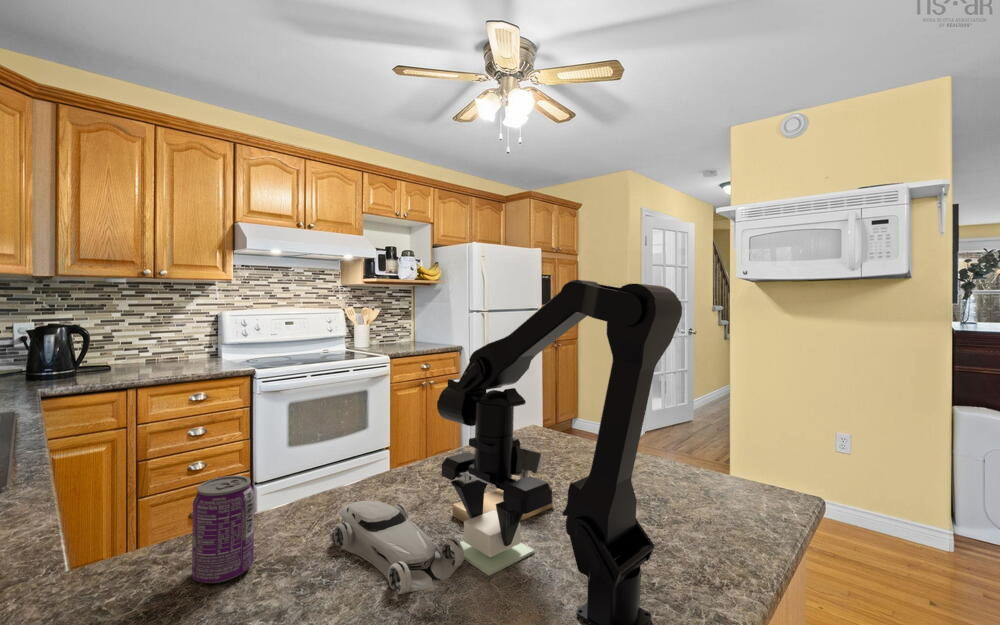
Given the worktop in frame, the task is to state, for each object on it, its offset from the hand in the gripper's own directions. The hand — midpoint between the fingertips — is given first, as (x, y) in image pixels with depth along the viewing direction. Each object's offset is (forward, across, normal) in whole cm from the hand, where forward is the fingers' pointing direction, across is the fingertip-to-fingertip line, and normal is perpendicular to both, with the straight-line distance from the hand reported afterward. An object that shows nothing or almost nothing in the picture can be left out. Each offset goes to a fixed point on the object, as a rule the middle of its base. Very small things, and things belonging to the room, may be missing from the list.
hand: (492, 536), depth 69 cm
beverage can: (+2, +20, +31) cm, 37 cm away
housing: (+2, +8, -10) cm, 14 cm away
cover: (+1, 0, 0) cm, 1 cm away
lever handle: (0, +10, -15) cm, 18 cm away
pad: (+2, 0, 0) cm, 2 cm away
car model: (+3, +11, +11) cm, 16 cm away
